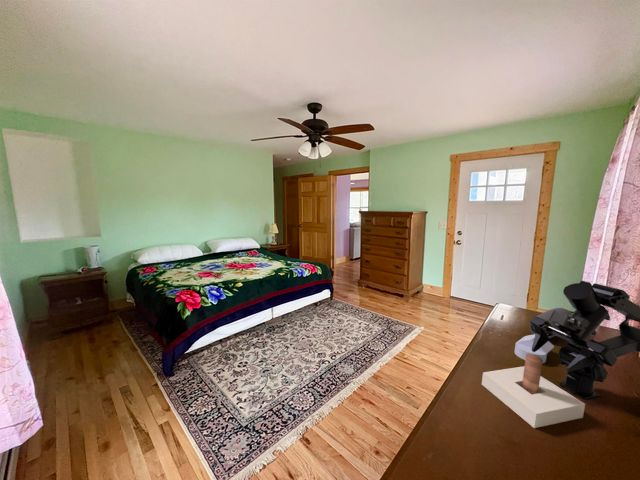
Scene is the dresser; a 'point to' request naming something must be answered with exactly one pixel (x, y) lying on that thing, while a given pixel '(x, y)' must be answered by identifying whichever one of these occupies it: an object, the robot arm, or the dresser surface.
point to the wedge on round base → (526, 345)
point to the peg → (532, 373)
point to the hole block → (533, 398)
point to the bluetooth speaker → (547, 316)
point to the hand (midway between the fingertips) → (549, 360)
